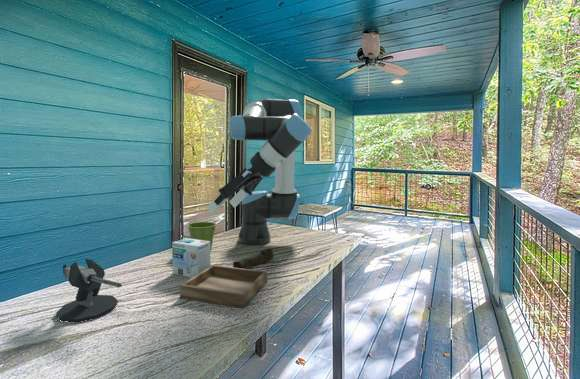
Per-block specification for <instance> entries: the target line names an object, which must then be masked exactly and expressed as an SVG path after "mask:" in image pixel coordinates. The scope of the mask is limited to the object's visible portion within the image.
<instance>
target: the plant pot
mask: <svg viewBox="0 0 580 379" xmlns="http://www.w3.org/2000/svg"><path fill="white" fill-rule="evenodd" d="M217 225H218V224H217V223H216V222H213V221H198V222H197V221H196V222H191V223H188V224H186V227H187V228H188V233H189V236H190V237H189V238H190V239H197V240H204V241H210V252H211V251H212V248H213V241H214V235H215V231H216V226H217Z"/></svg>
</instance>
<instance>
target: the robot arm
mask: <svg viewBox="0 0 580 379" xmlns="http://www.w3.org/2000/svg"><path fill="white" fill-rule="evenodd" d="M312 131H313V130H312V127H311V126H310V125H309V124H308V122H306V120H304V119H303V115H302V107H301V103H300V101H298V100H297V99H289V98H287V99H286V98H282V99H281V98H260V99H258V100H254V101H251V102H250V103H248V104H247V105H246V106H245V107H244V109H243V113H242V115H241V114H239V115H231V117H230V120H229V133H230V137H231V139H232V140H236V141H237V140H239V141H266V142H264V144H263V145H262V146H261V147H259V151H257V152H256V153H254V155H252V157H251V158H250V160H249V162H250V164H251V167H250V168H243V169H242V171H240V172H239V174H237V175H236V176H235V177H234V178H232V179H231V180H230V181H229V182H227V183H226V184H225V185H224V186H222V187H221V188H219V189H218V193H219V194H218V195H217V196H216V197H215V198H214V199H213V200H212V201H211V202H210V203H209V204H208V206H207V209H208V211H209V212H210V213H211V214H212V215H215V214H216V213H217V212H218V210H220V208H221V207H222V206H223V205H224V204H225V203H226V202H227V201H228V200H229V198H230V197H231V196H232V195H233V194H235V193H236V194H235V195H234V196H233V197H232V198H231V199H230V200H229V203H230V205H231V206H232V207H233V208H236V207H237V206H238V205H239V204H240V203H241V227H240V230H239V233H238V243H240V244H244V245H249V246H250V245H251V246H253V245H254V246H255V245H256V246H257V245H264V244H268V243H270V242H271V239H272V238H271V233H270V230H269V226H268V220H272V219H273V220H274V219H276V220H289V219H290V220H292V219H296V218H297V216H298V213H299V210H300V200H301V195H300V194H299V193H298V190H297V189H296V188H295V154H296V153H295V151H296V150H297V148H298V147H300V146H301V144H302V143H303V142H305V141H306V140H307V138H308V137H309V136H310V134H312ZM274 172H275V173H274ZM273 173H274V174H275V177H274V178H275V180H274V182H275V183H274V184H275V187H274V188H272V190H271V193H268V191H267V190H256V188H257V187H258V186H259V184H260V183H261V181H262V180H263V179H264V178H269V177H271V175H272V174H273ZM255 190H256V191H255ZM237 191H238V192H237Z"/></svg>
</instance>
